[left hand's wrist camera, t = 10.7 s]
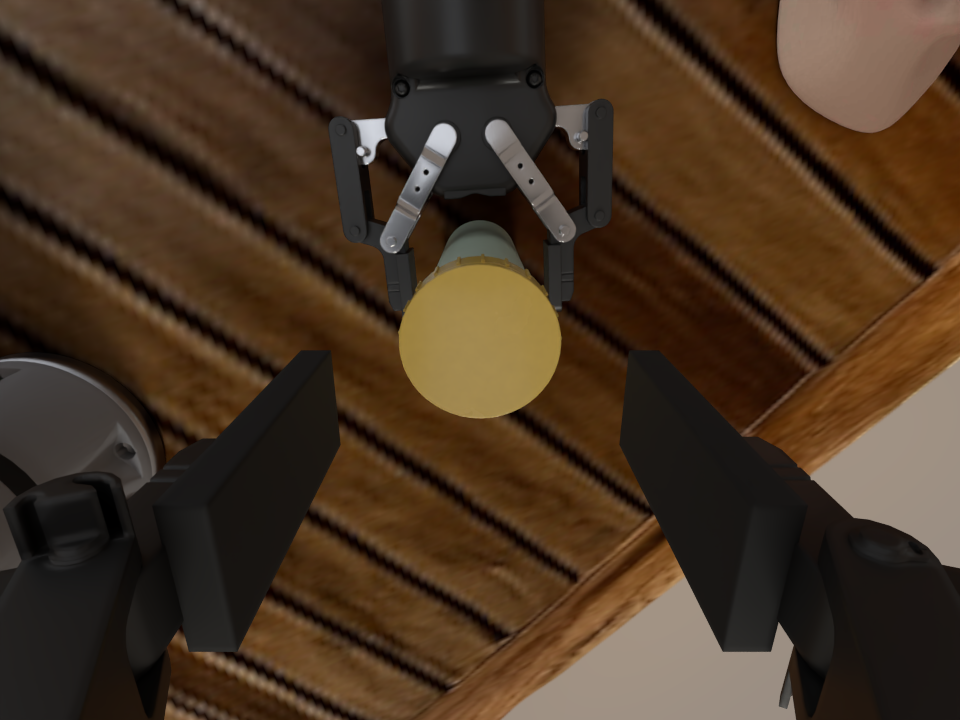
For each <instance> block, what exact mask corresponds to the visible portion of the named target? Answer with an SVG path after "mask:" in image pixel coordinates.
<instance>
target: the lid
mask: <svg viewBox="0 0 960 720" xmlns="http://www.w3.org/2000/svg"><path fill="white" fill-rule="evenodd" d="M415 291H416V292H415V293H414V295H413V297H412V299H411V301H409V300H408V302H407V304H406V306H405V308H404V310H403V311H404V312H405V313H404V316H403V319H402V322H401V326H400V330H399V332H398V334H399V350H400V357H401V360H402V364H403V367H404V369H405V371H406V374H407V376H408V377H409V379H410V381H411V382H412V384H413V385H414V386H415V388H416V389H417V390H418V391H419V392H420V393H421V394H422V395H423V396H424V397H425V398H426V399H427V400H428V401H430V402H431V403H432V404H434V405H435V406H437V407H439V408H441V409H442V410H445V411H447V412H450V413H452V414H455V415H459V416H463V417H469V418H492V417H497V416H502V415H505V414H508V413H511V412H513V411H515V410H517V409H519V408H521V407H523V406H524V405H526V404H528V403H529V402H530V401H532V400H533V399H534V398H535V397H536V396H537V395H538V394H539V393H540V392H541V391H542V390H543V389H544V388H545V386H546V385H547V384H548V382H549V381H550V379H551V377H552V375H553V374H554V372H555V369H556V366H557V364H558V360H559V356H560V350H561V340H562V337H561V332H560V326H559V322H558V319H557V317H559V316H558V313H557V311H556V309H555V307H554V305H551V303H550V301H549V299H548V297H547V296H548V293H547V291H546V289H545V287H544V286H543V285H542V286H540V284H539V283H538V282H537V281H536V280H535V279H534V278H533V277H532V276H531V275H530V272H529V270H528V269H526V270H524V269H522V268H520V267H519V266H517V265H515V264H513V263H511V262H509V261H508V259H507V258H505V259H504V260H503V259H500V258H495V257H489V256H484V254H481V256H472V257H465V258H461V257H460V256H459V257H457V260H454V261H452V262H449V263H447V264H445V265H443V266H441V267H439V266H437V267H436V268H435V270H434V272H432V273H431V274H430V275H429V276H428V277H427V278H426V279H425V280H424V281H423V282H422V281H420V282H419V283H418V285H417V287H416V289H415Z"/></svg>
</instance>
